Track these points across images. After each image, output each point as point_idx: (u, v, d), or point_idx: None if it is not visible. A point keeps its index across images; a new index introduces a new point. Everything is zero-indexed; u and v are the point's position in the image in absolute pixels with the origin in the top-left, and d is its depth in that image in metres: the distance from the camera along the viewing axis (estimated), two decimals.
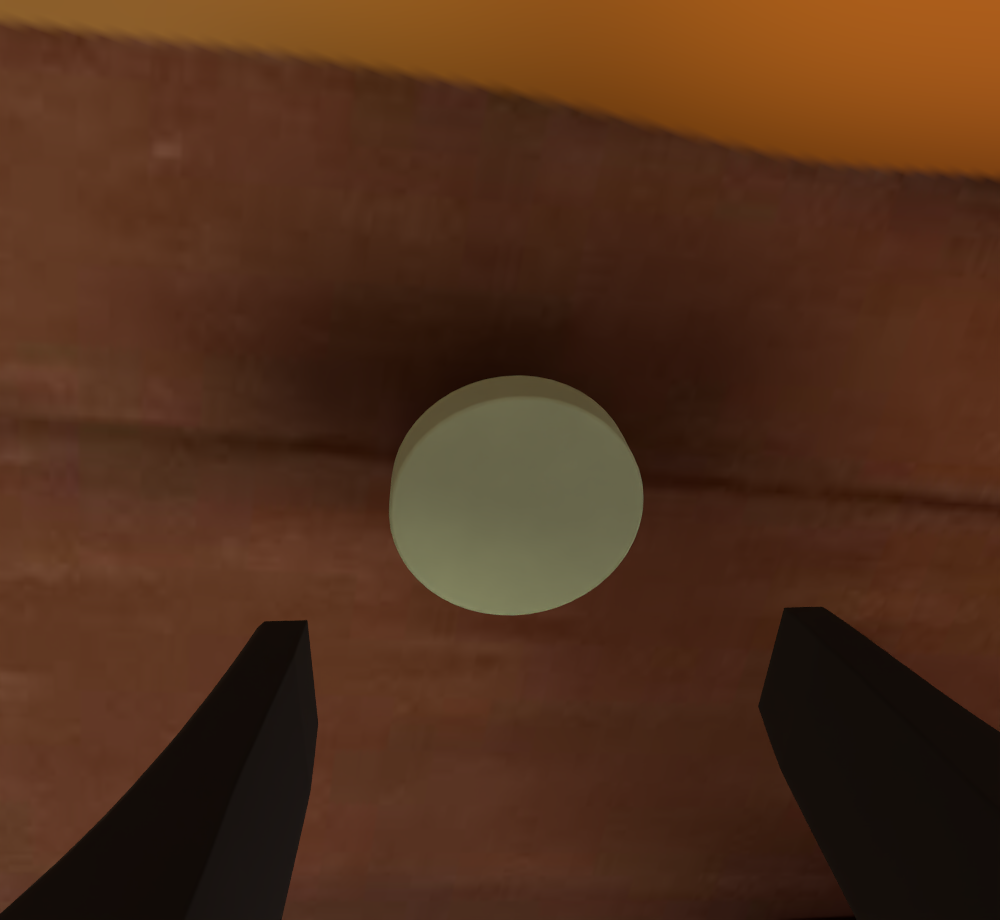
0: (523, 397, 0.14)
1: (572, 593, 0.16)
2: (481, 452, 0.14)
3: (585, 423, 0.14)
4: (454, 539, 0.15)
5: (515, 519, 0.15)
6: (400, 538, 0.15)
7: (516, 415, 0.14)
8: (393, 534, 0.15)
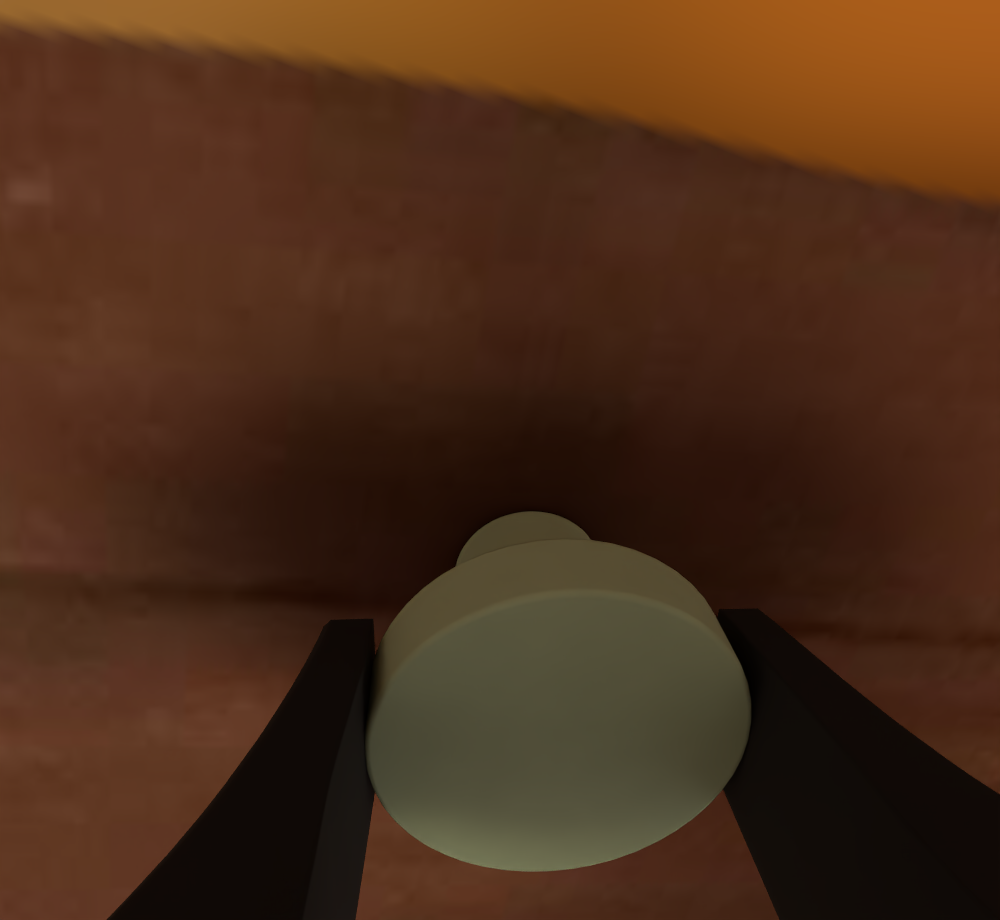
0: (576, 592, 0.09)
1: (637, 843, 0.11)
2: (507, 669, 0.09)
3: (671, 626, 0.09)
4: (464, 783, 0.10)
5: (557, 754, 0.10)
6: (382, 784, 0.10)
7: (563, 617, 0.09)
8: (371, 778, 0.10)
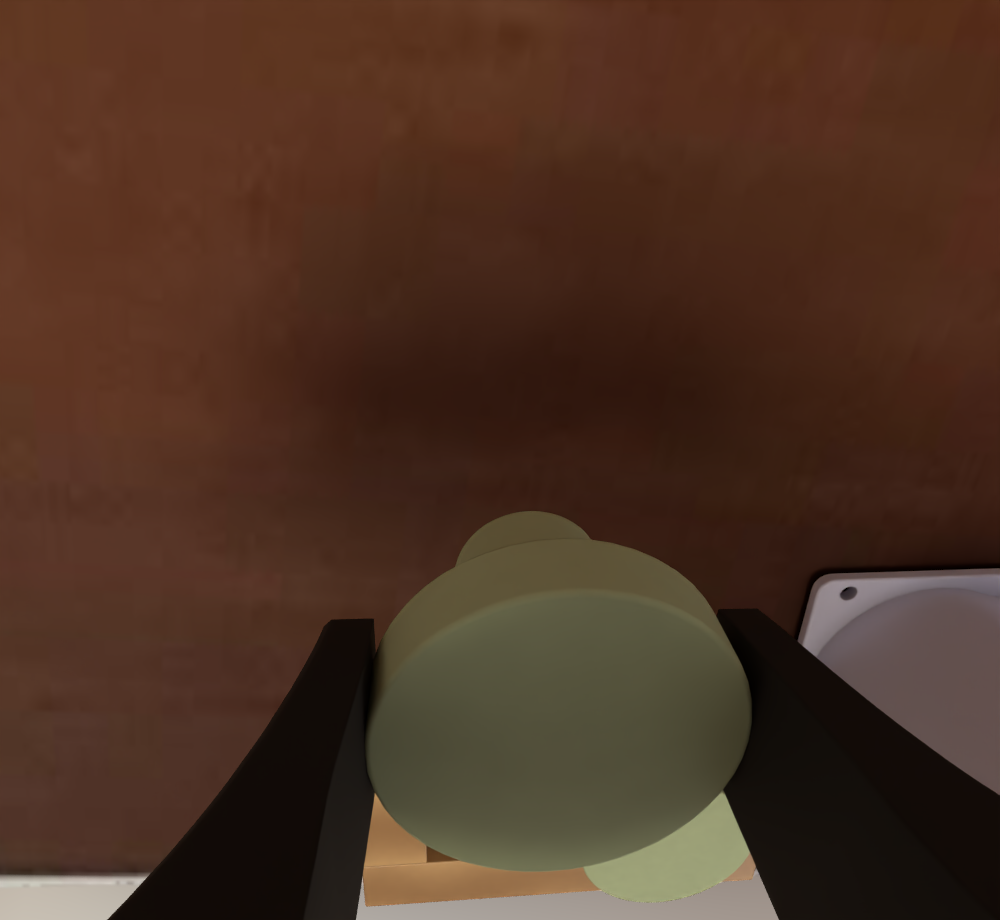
0: (576, 592, 0.09)
1: (637, 843, 0.11)
2: (508, 669, 0.09)
3: (672, 626, 0.09)
4: (464, 783, 0.10)
5: (558, 755, 0.10)
6: (382, 784, 0.10)
7: (564, 616, 0.09)
8: (371, 779, 0.10)
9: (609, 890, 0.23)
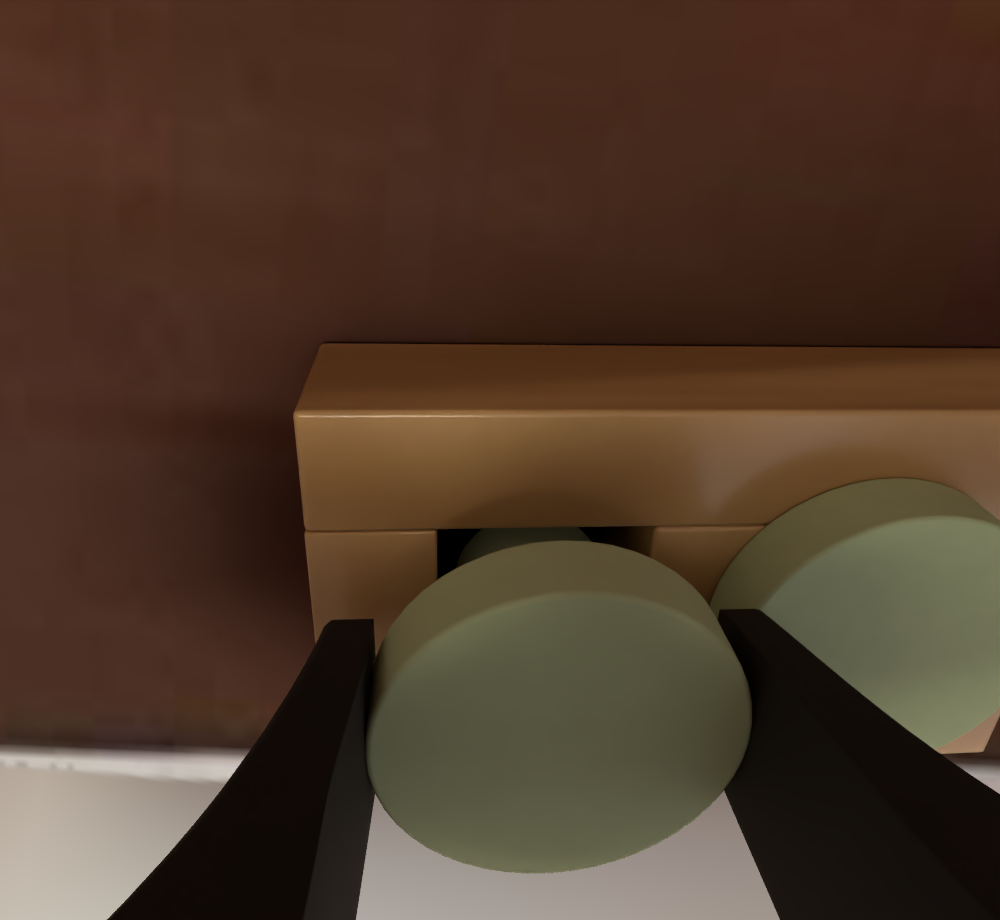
0: (576, 595, 0.09)
1: (638, 845, 0.11)
2: (508, 671, 0.09)
3: (672, 628, 0.09)
4: (465, 785, 0.10)
5: (558, 757, 0.10)
6: (382, 786, 0.10)
7: (564, 619, 0.09)
8: (372, 781, 0.10)
9: None
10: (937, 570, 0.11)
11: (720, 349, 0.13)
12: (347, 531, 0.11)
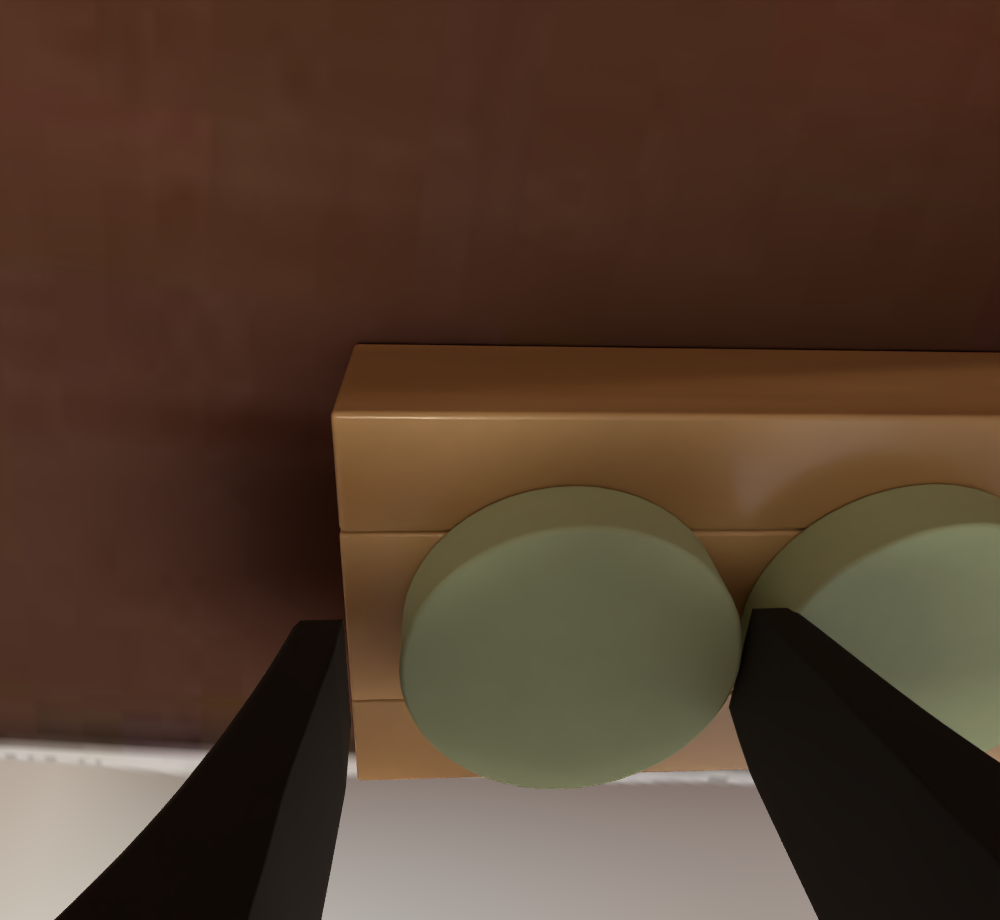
0: (586, 527, 0.10)
1: (639, 763, 0.12)
2: (526, 597, 0.11)
3: (670, 560, 0.10)
4: (486, 702, 0.11)
5: (569, 678, 0.11)
6: (414, 701, 0.11)
7: (576, 550, 0.10)
8: (404, 696, 0.11)
9: None
10: (978, 578, 0.11)
11: (755, 352, 0.13)
12: (381, 533, 0.11)
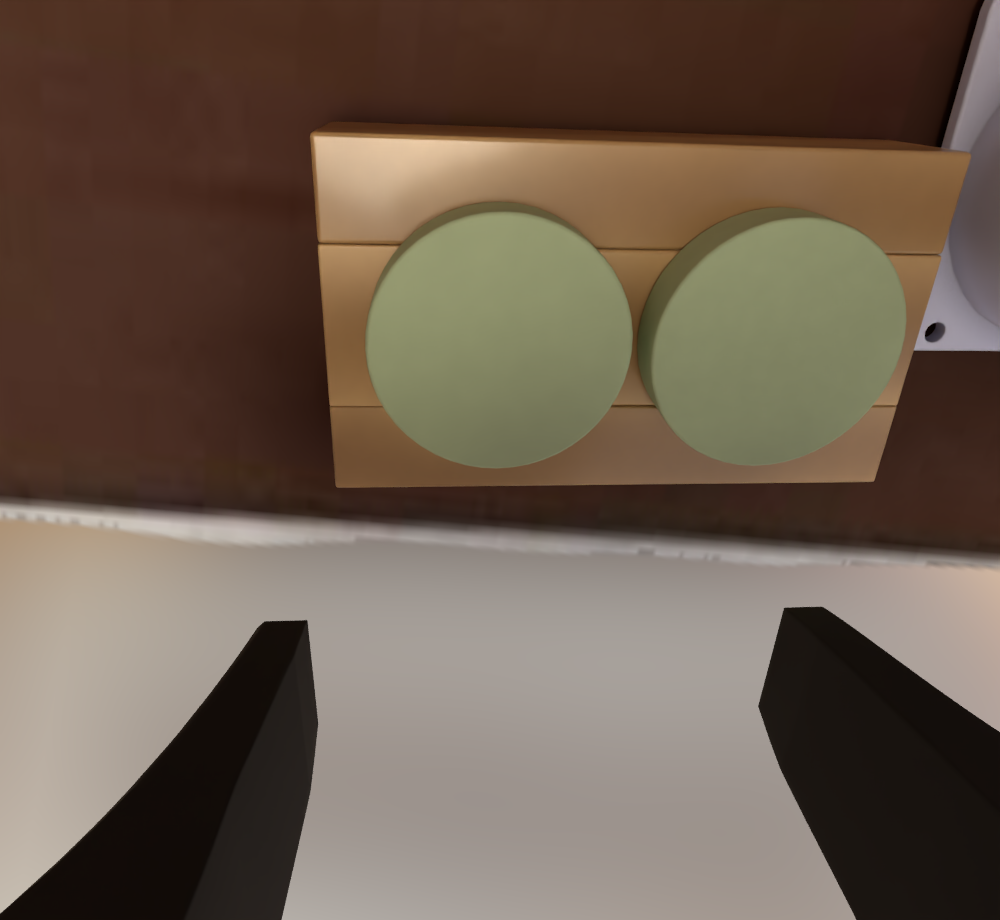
0: (505, 212, 0.13)
1: (558, 444, 0.15)
2: (461, 276, 0.14)
3: (570, 244, 0.14)
4: (434, 378, 0.15)
5: (498, 355, 0.14)
6: (377, 375, 0.14)
7: (498, 233, 0.13)
8: (370, 371, 0.14)
9: (687, 432, 0.16)
10: (809, 268, 0.14)
11: (651, 132, 0.17)
12: (351, 244, 0.15)
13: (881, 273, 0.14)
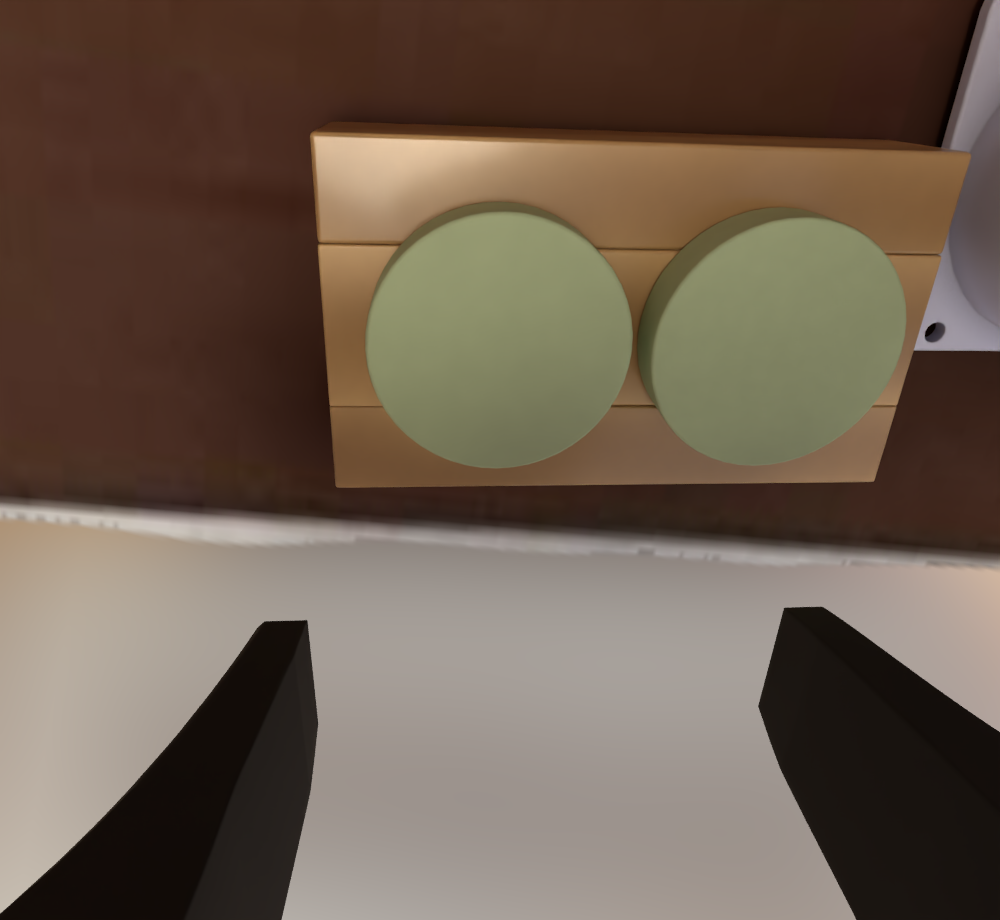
0: (505, 212, 0.13)
1: (558, 444, 0.15)
2: (461, 276, 0.14)
3: (570, 244, 0.14)
4: (434, 378, 0.15)
5: (498, 355, 0.14)
6: (377, 375, 0.14)
7: (498, 233, 0.13)
8: (370, 371, 0.14)
9: (687, 432, 0.16)
10: (809, 268, 0.14)
11: (651, 132, 0.17)
12: (351, 244, 0.15)
13: (881, 273, 0.14)
